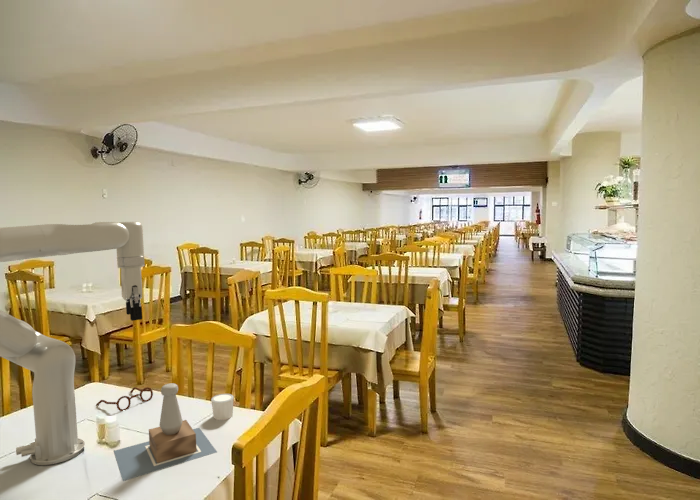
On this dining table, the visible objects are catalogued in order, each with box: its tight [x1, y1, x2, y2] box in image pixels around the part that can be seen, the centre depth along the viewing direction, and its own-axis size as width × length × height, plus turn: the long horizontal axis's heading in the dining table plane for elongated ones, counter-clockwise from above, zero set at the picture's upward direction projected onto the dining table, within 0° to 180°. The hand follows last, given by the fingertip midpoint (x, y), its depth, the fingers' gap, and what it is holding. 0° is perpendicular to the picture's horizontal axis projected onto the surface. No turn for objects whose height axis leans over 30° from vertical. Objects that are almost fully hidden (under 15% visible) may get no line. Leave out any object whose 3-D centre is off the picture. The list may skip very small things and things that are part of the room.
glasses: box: [96, 386, 154, 412], centre depth 160 cm, size 13×13×5 cm
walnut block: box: [148, 419, 197, 463], centre depth 126 cm, size 10×10×5 cm
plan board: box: [113, 427, 218, 482], centre depth 125 cm, size 23×17×1 cm
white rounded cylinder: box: [210, 393, 234, 421], centre depth 145 cm, size 7×7×7 cm
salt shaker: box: [159, 382, 183, 435], centre depth 125 cm, size 6×6×13 cm
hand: (134, 316), depth 143 cm, fingers open, 9 cm apart
